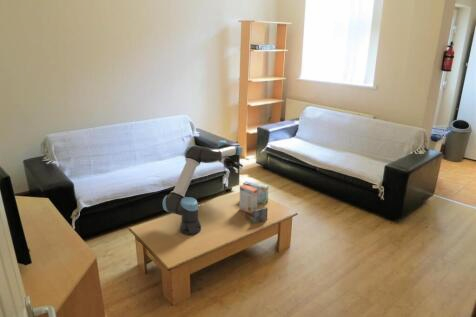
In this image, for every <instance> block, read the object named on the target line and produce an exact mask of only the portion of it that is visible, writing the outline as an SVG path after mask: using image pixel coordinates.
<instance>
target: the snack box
mask: <svg viewBox="0 0 476 317" xmlns="http://www.w3.org/2000/svg"><path fill="white" fill-rule="evenodd" d="M244 184H245V185H248V186H251V187H253V188H256V189H258V196H257V204H258V203H259V204H263V205H266V204H268V203H269V189H270V188H269V185H267V184H261V183H257V182H252V181H248V180H247V181H244V182H243V183H242V185H244Z"/></svg>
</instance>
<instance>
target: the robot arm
mask: <svg viewBox="0 0 476 317" xmlns="http://www.w3.org/2000/svg"><path fill="white" fill-rule="evenodd" d="M243 149H244V148H243V147H242V146H241V145H236V144H235V145H234V144H229V143H228V142H227V141H226V140H224V139H223V140H222V139H221V140H219V141H218V142H217V148H210V147H205V146H199V145H195V144H194V145H193V144H192V145H188V147H187V148H186V149H185V151H184V158H185V160H184V161H185V164H184V166H183V168H182V171H181V173H180V175H179V177H178V179H177V182H176V184H175V186H174V189H173V190H172V191H170V193H169V194H166V195H165V196H164V197H163V199H162V208H163V210H164V211H165V212H168V213H170V214H174V215H177V216H180V217H181V222H180V225H179V233H181V234H182V235H185V236H194V235H197V234H199V233H200V232H201V230H202V224H201V223H200V220H199V205H198V200H197V199H196V198H194V197H191V196H190V197H189V196H188V197H187V196H185V195H186V193H187V191H188V188H189V186H190V184H191V181H192V178H193V176H194V174H195V171H196V169H197V167H199V166H200V165H201V163H203V164H204V163H205V164H210V163H216V162H219V163H221V164H222V165H223V168H224V169H227V170H228V171H231V172H235V173H236V174H238V173H239V171H241V172H243V173H245V168H244V166H243V164H242V163H241V162H239V161H234V160H233V159H232V158H231V156H235V155H237V156H240V155H242V153H243Z"/></svg>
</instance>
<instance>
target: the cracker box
mask: <svg viewBox="0 0 476 317" xmlns="http://www.w3.org/2000/svg"><path fill="white" fill-rule="evenodd" d="M257 196H258V189H256V188H253V187H251V186H248V185H245V184H244V185H243V184H242V185H239V211H242V212H243V213H245V212H246V213H247V214H248V215H250V216H252V211H254V210H257V209H258V202H257Z"/></svg>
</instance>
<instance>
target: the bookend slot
mask: <svg viewBox="0 0 476 317" xmlns="http://www.w3.org/2000/svg"><path fill="white" fill-rule="evenodd" d="M268 210H269V209H268V207H267V206H266V207H262V208H257V210H254V211H252V215H250V214H248V213H246V212H244V217H245V218H246V219H247V220H248V221H249V222H251V223H252V224H257V223H261V222H264V221H267V220H268Z"/></svg>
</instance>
